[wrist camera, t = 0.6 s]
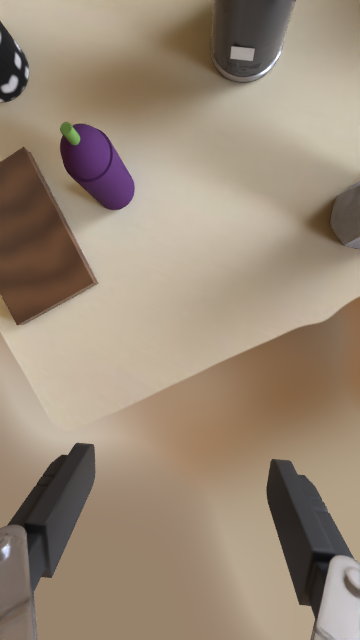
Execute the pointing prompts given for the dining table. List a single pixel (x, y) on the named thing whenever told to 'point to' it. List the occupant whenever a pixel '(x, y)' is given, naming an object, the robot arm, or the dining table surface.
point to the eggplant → (96, 165)
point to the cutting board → (35, 244)
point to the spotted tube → (11, 67)
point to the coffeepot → (347, 217)
